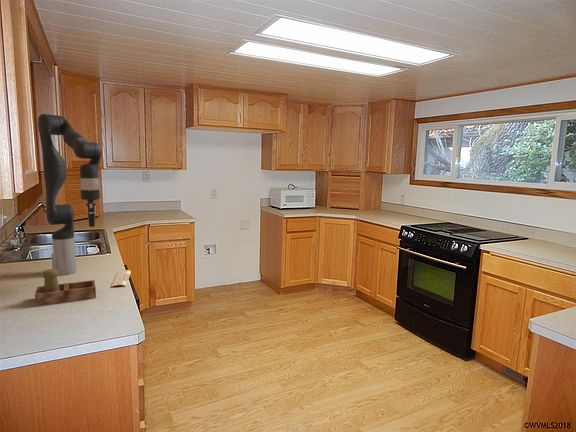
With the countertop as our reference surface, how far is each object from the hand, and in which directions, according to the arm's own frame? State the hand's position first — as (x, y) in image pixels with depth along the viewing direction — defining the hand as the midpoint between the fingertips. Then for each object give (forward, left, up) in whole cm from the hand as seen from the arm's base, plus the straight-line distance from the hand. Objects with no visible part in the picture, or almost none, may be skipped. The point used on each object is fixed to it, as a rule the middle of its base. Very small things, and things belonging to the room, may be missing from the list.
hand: (91, 224), depth 172 cm
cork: (+2, -24, -25) cm, 35 cm away
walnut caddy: (+5, -20, -26) cm, 33 cm away
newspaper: (+9, +8, -27) cm, 29 cm away
